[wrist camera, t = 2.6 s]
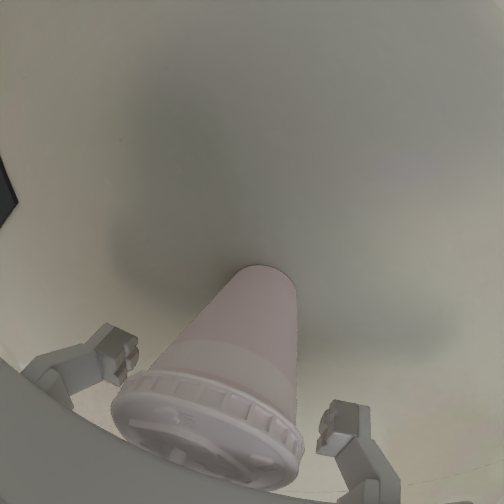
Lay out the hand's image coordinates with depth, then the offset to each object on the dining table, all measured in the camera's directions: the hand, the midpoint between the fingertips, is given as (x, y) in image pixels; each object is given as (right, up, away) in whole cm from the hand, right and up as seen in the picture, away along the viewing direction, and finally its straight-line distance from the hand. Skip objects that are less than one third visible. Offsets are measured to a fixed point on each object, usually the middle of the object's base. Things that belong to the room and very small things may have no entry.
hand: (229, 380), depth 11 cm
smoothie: (+1, +3, +5) cm, 6 cm away
